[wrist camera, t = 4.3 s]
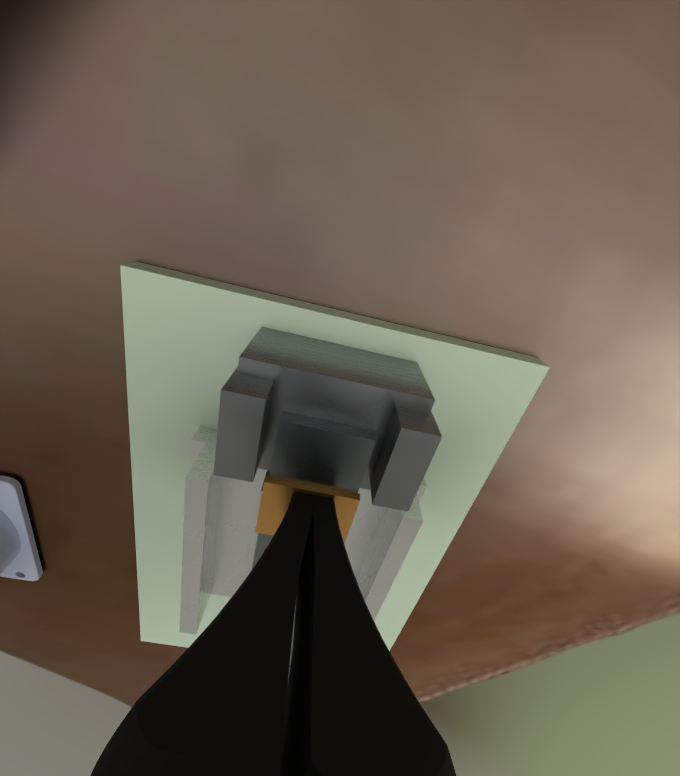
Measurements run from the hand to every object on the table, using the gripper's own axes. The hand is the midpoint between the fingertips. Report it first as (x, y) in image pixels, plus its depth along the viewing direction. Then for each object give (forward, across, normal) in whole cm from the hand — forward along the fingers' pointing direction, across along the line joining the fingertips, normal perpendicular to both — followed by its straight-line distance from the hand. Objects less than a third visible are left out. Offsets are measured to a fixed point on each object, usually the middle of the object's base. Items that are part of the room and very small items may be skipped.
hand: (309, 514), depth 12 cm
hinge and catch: (+4, 0, +5) cm, 7 cm away
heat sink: (+4, 0, +5) cm, 6 cm away
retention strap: (+1, 0, +5) cm, 5 cm away
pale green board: (+5, 0, +6) cm, 8 cm away
